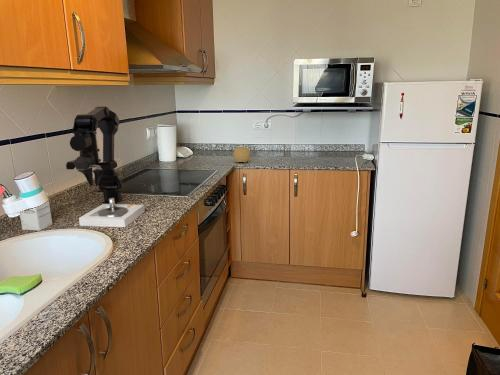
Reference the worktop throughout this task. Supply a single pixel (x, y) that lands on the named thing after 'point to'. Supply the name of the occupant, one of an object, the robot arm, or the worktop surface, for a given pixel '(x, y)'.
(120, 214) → the dial
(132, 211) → the bezel
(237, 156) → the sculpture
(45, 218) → the supplement box
